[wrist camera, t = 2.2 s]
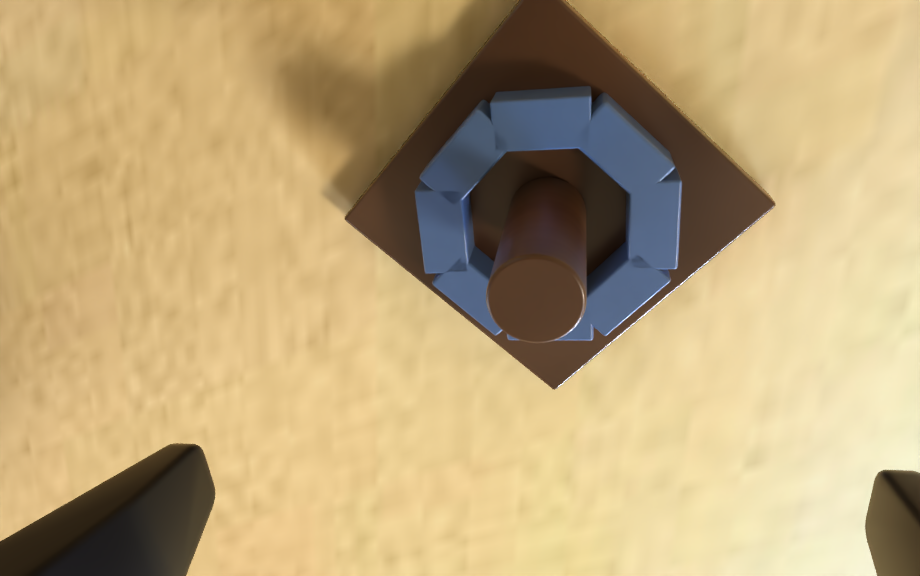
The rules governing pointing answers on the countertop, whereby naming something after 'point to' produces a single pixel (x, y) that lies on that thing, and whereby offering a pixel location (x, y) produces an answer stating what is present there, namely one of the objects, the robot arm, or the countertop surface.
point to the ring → (545, 128)
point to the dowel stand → (557, 190)
